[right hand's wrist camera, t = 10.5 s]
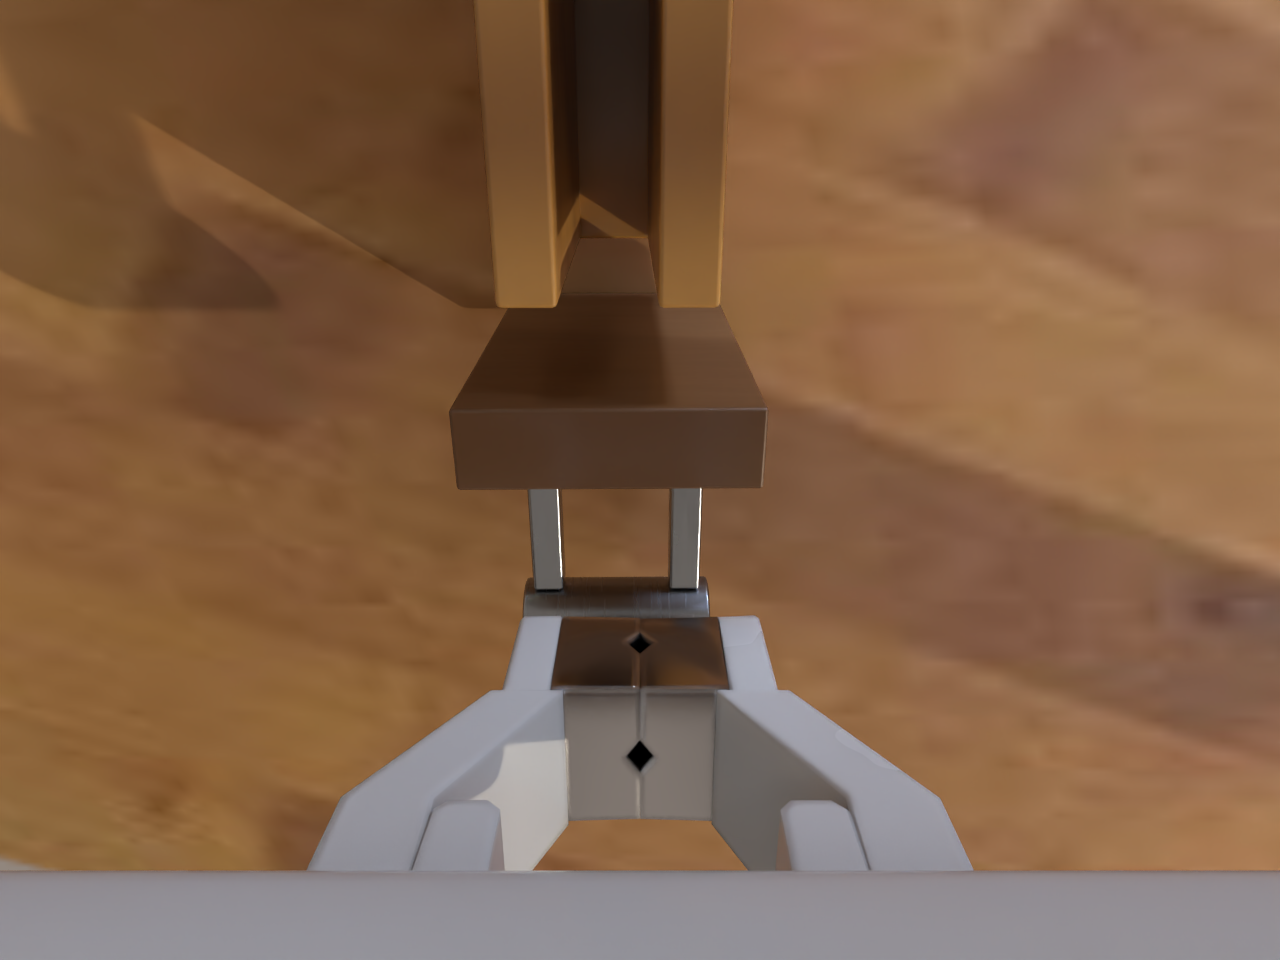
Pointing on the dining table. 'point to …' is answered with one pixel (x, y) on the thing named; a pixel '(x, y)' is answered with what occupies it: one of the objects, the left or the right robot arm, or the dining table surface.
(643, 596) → the drawer
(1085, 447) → the dining table surface
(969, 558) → the dining table surface
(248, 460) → the dining table surface
